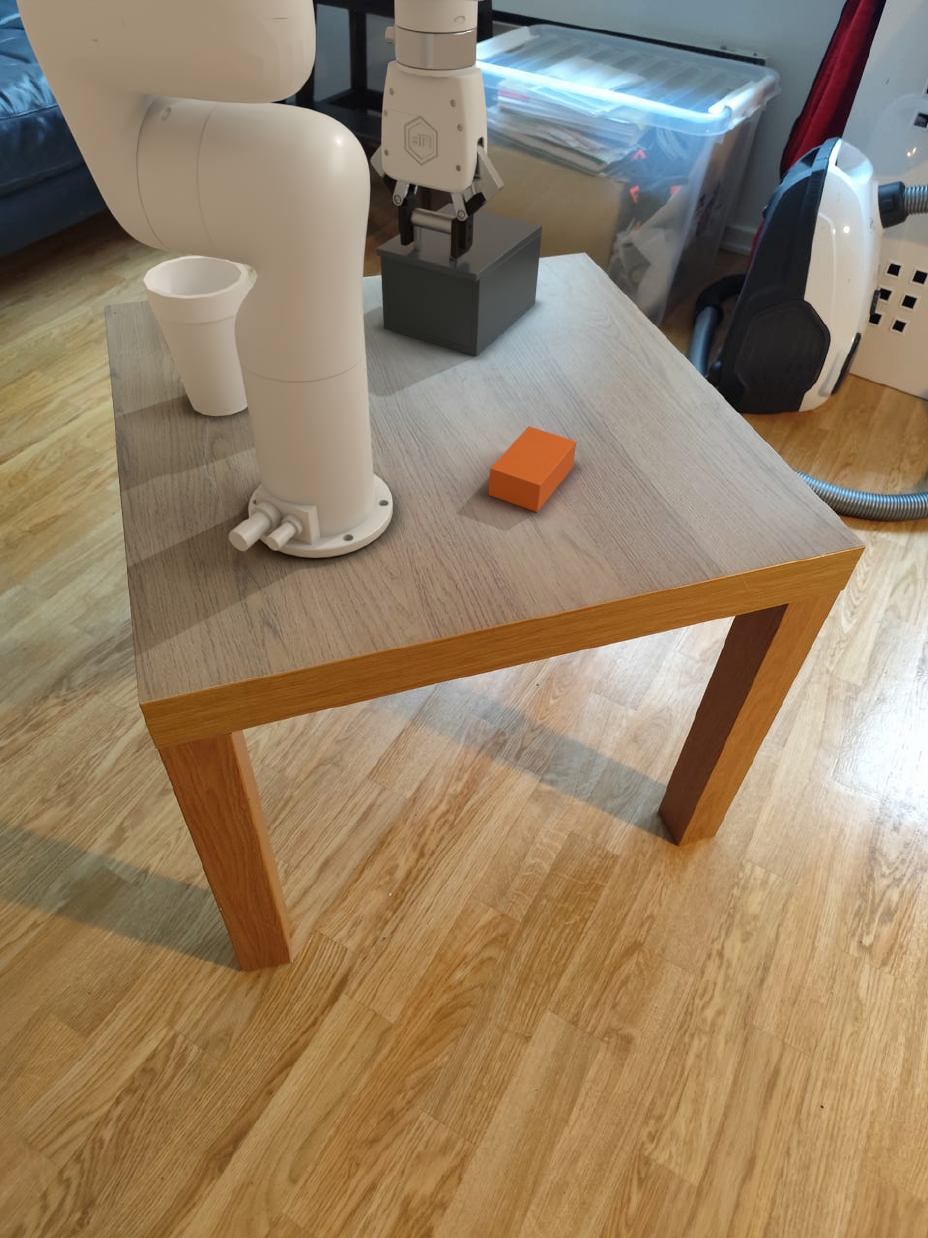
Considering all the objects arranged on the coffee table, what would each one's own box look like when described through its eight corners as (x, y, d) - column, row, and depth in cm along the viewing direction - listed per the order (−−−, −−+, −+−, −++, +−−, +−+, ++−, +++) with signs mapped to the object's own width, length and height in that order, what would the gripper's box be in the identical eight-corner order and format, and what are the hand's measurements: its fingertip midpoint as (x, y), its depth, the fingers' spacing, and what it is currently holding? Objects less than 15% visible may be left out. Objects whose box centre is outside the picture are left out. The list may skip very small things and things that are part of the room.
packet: (537, 512, 74) (540, 485, 72) (488, 495, 76) (489, 468, 73) (572, 467, 79) (576, 441, 77) (526, 452, 81) (528, 425, 78)
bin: (476, 356, 94) (479, 279, 87) (383, 328, 98) (380, 253, 91) (535, 304, 103) (541, 231, 97) (448, 280, 107) (449, 210, 101)
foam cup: (166, 387, 87) (134, 264, 78) (251, 369, 90) (230, 248, 81) (189, 433, 81) (157, 305, 72) (279, 411, 84) (259, 287, 75)
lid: (476, 281, 87) (478, 232, 83) (376, 255, 91) (373, 206, 87) (541, 231, 97) (546, 185, 93) (449, 209, 101) (450, 164, 97)
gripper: (336, 43, 76) (350, 242, 89) (499, 70, 71) (489, 278, 84) (380, 29, 81) (387, 220, 94) (536, 54, 76) (521, 253, 89)
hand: (435, 245), depth 89 cm, fingers closed on lid, 5 cm apart
